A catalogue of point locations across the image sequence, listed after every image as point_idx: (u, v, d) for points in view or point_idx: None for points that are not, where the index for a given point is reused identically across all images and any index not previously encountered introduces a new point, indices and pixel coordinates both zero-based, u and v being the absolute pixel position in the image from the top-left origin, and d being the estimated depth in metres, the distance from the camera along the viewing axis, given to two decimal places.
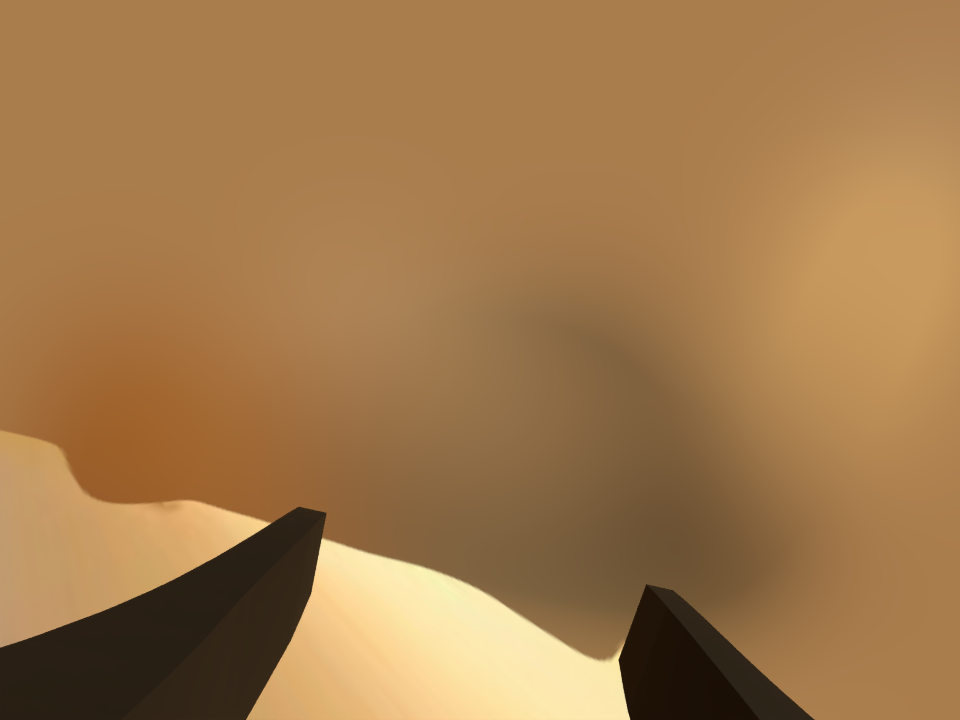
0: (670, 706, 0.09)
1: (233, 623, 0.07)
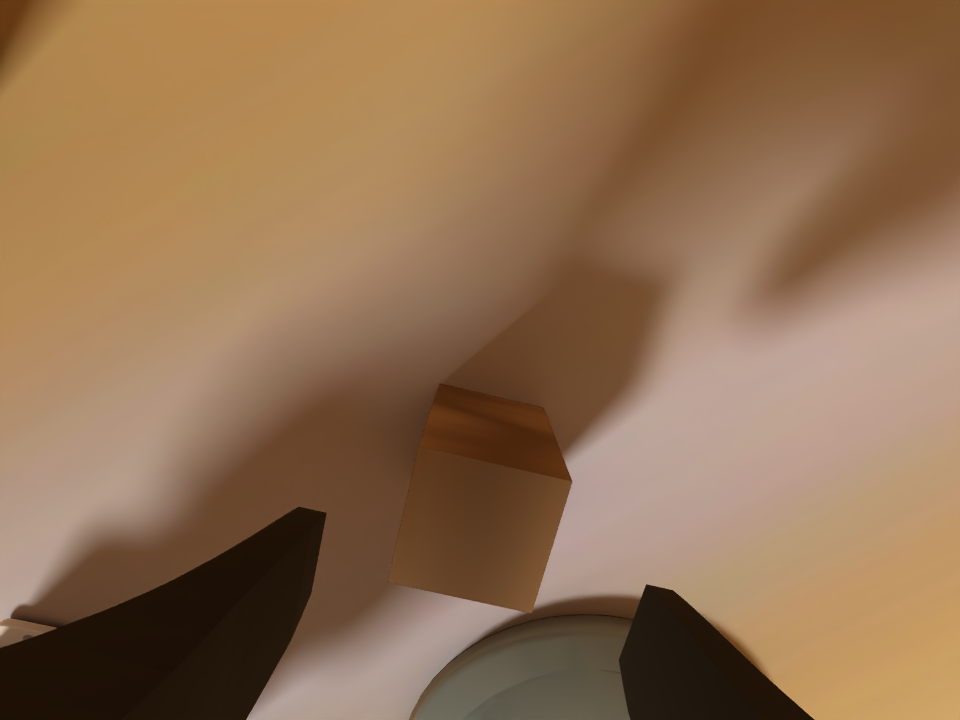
0: (670, 706, 0.09)
1: (233, 623, 0.07)
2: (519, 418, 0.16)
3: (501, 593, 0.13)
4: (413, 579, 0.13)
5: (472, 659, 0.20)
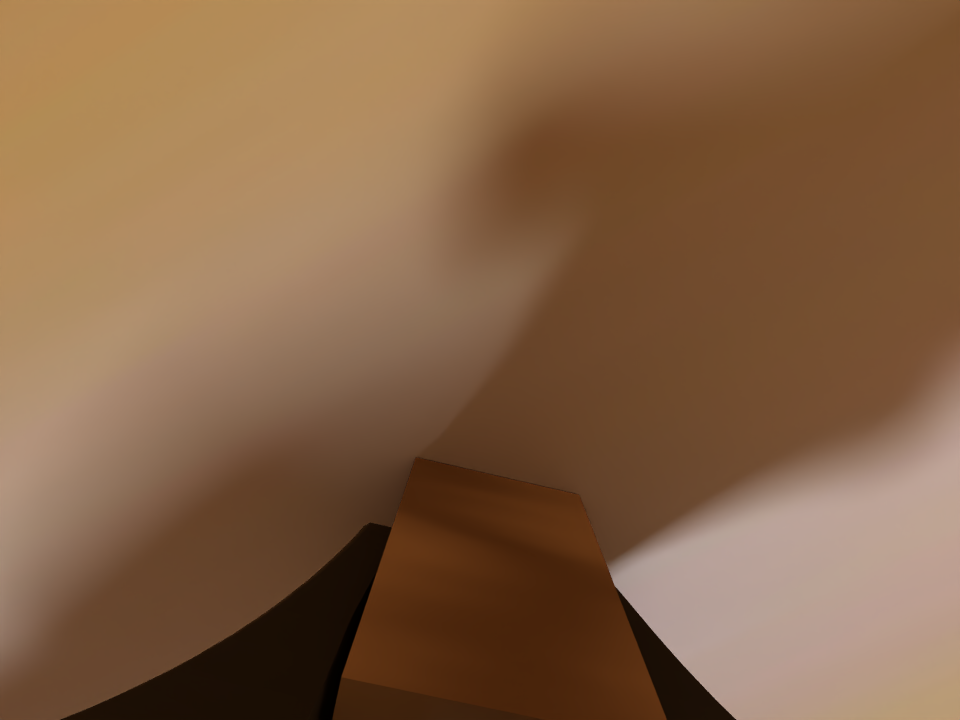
0: None
1: (343, 646, 0.07)
2: (545, 530, 0.10)
3: None
4: None
5: None
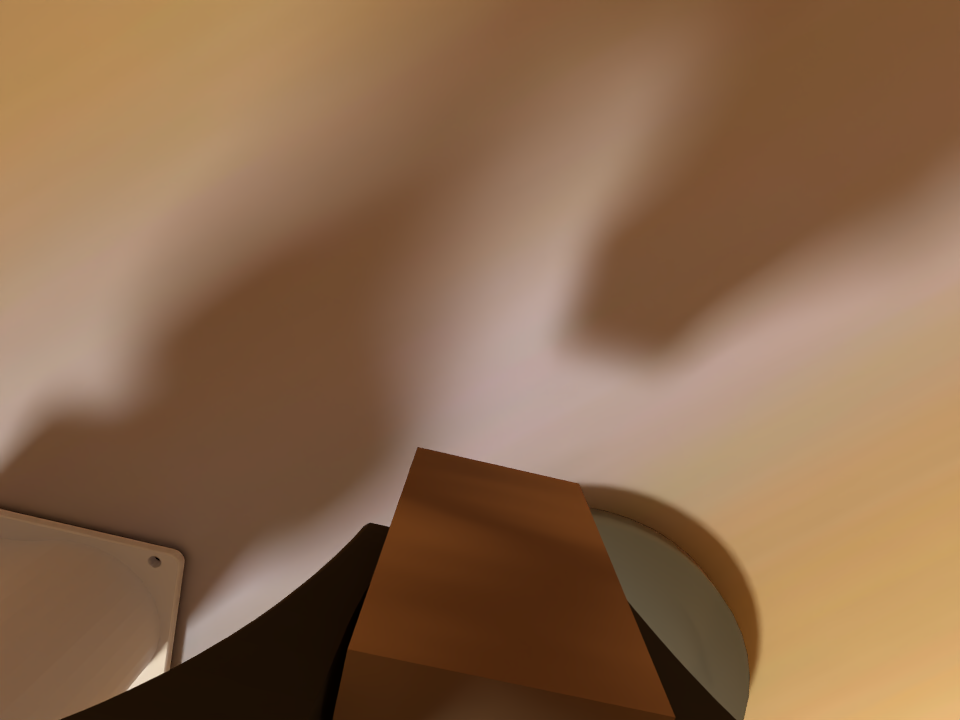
0: None
1: (342, 646, 0.07)
2: (546, 516, 0.10)
3: None
4: None
5: None
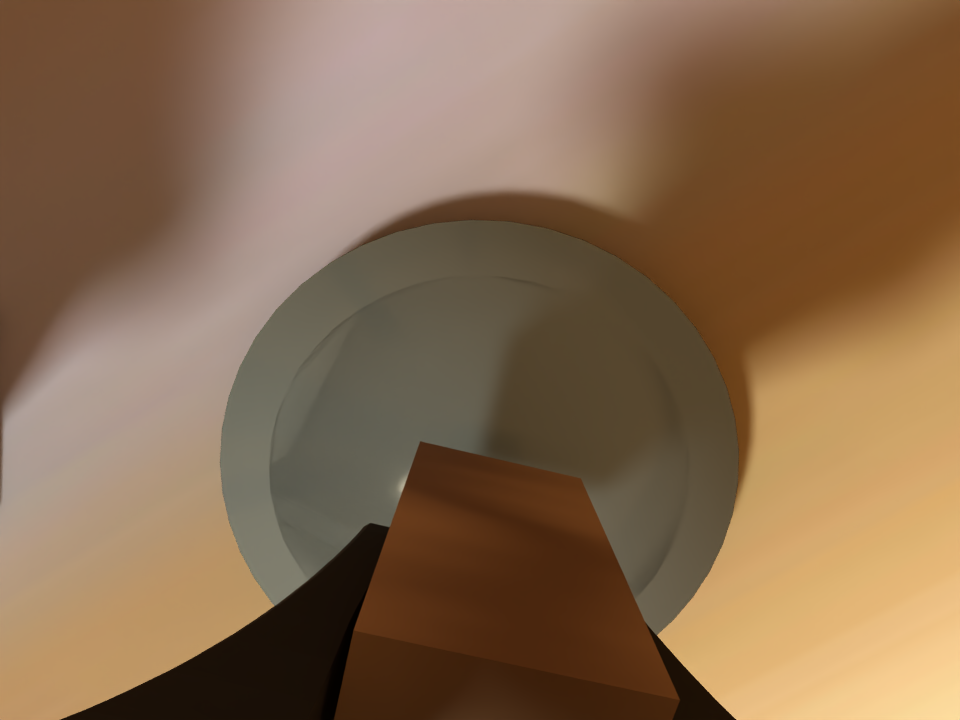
0: None
1: (343, 646, 0.07)
2: (548, 508, 0.10)
3: None
4: None
5: None
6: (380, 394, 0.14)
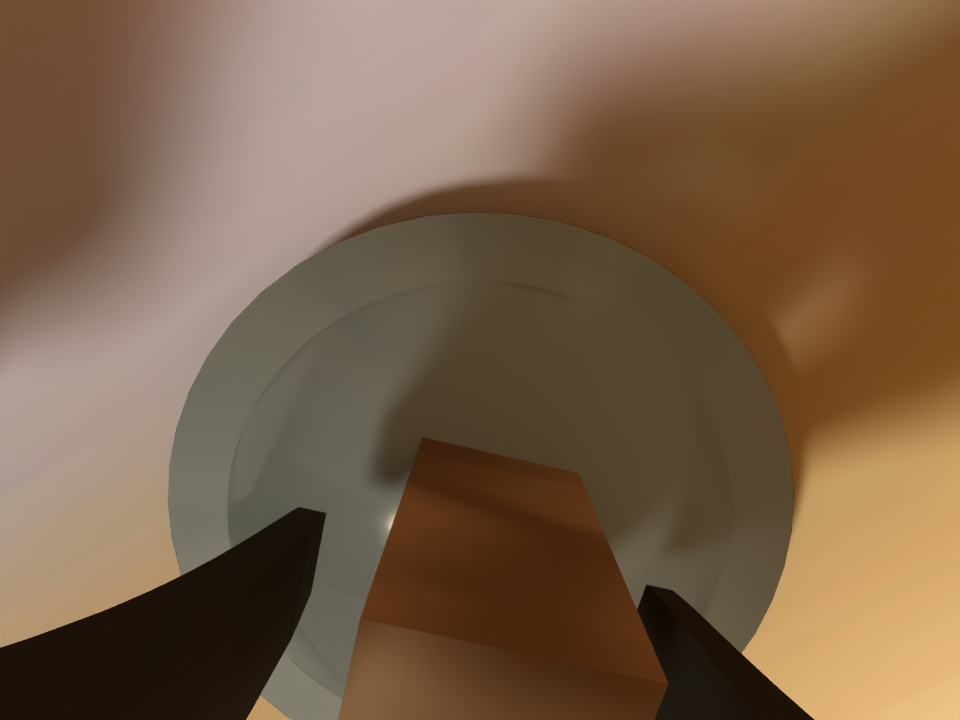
0: (670, 706, 0.09)
1: (233, 623, 0.07)
2: (546, 502, 0.10)
3: None
4: None
5: None
6: (360, 424, 0.12)
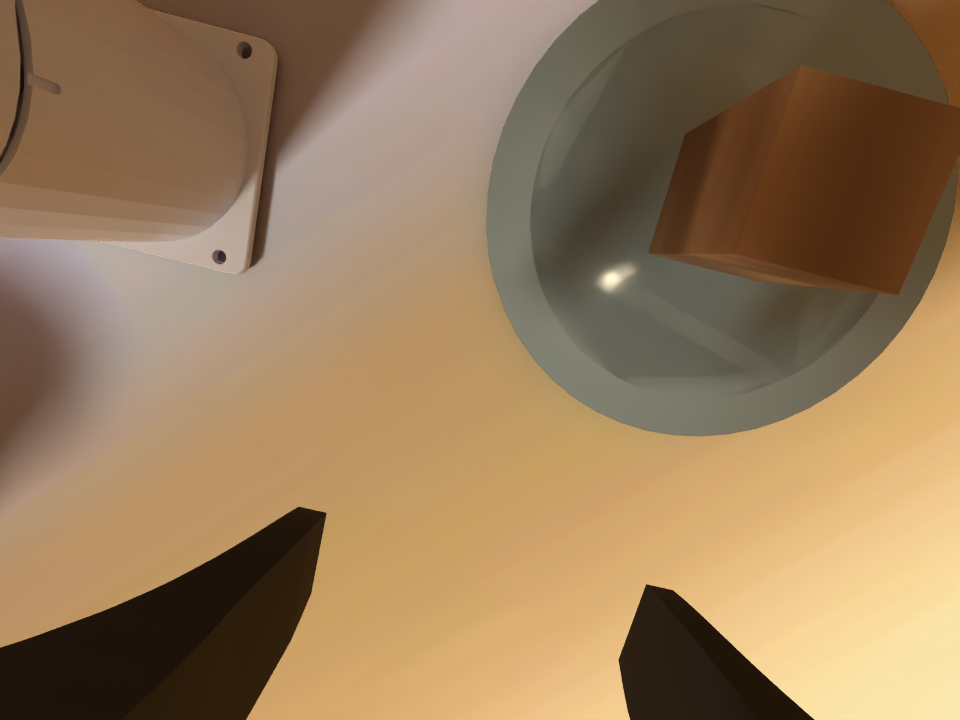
0: (670, 706, 0.09)
1: (233, 623, 0.07)
2: None
3: (867, 267, 0.11)
4: (766, 249, 0.11)
5: None
6: (640, 123, 0.16)
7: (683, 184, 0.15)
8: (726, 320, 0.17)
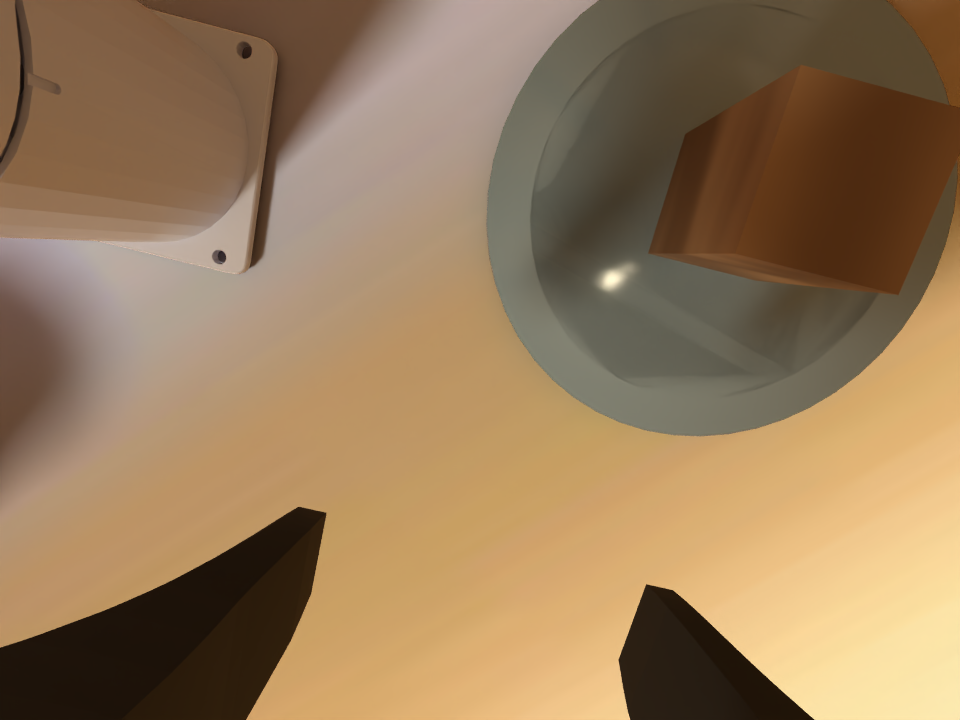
0: (670, 706, 0.09)
1: (233, 623, 0.07)
2: None
3: (867, 267, 0.11)
4: (766, 249, 0.11)
5: None
6: (640, 123, 0.16)
7: (683, 184, 0.15)
8: (726, 320, 0.17)
